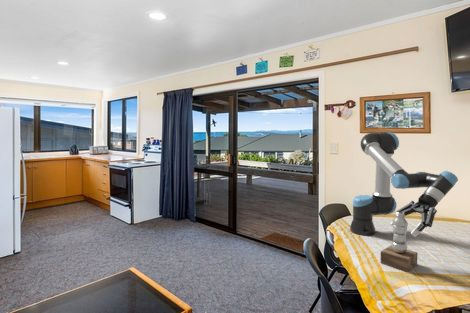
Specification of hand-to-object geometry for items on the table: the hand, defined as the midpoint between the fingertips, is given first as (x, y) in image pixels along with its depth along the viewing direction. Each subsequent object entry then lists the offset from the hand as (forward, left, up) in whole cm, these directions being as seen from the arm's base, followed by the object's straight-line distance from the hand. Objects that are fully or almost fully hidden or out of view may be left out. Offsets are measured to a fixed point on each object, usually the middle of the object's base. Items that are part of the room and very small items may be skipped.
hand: (402, 230), depth 133 cm
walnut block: (+1, -1, -17) cm, 17 cm away
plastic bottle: (+1, -1, -11) cm, 11 cm away
